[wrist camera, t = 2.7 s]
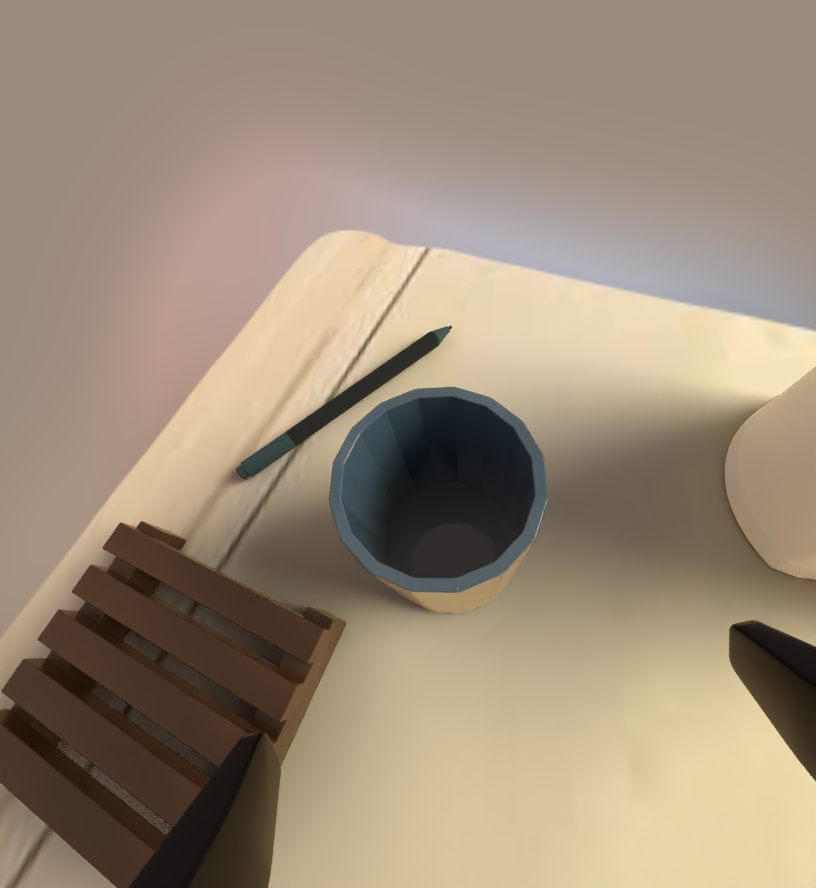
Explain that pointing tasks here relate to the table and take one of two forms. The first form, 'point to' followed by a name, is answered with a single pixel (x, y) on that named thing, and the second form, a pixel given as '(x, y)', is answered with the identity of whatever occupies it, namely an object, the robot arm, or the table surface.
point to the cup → (440, 496)
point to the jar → (778, 479)
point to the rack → (148, 696)
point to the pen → (340, 403)
